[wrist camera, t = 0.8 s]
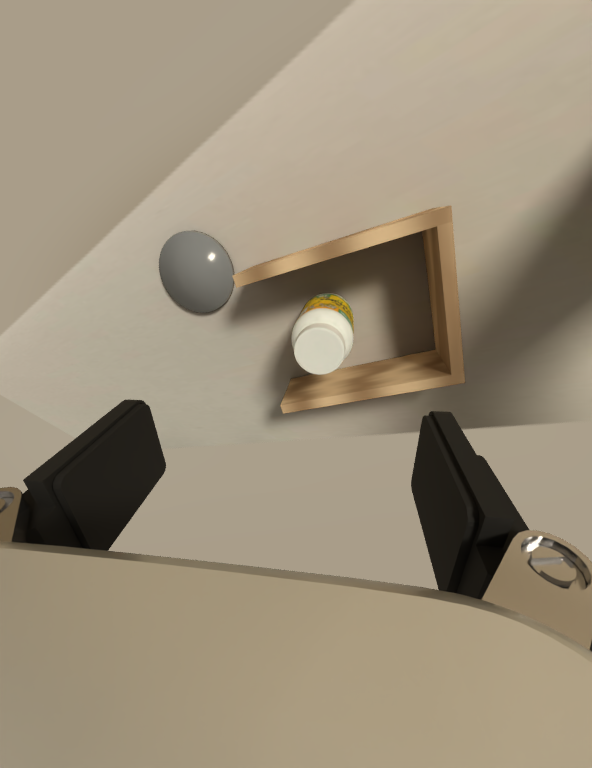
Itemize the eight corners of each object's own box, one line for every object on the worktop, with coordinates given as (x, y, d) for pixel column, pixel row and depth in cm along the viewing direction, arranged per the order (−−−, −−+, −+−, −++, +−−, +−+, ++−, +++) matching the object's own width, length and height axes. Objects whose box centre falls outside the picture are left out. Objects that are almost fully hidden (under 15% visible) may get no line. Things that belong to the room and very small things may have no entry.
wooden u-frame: (432, 208, 26) (451, 205, 21) (447, 356, 32) (465, 382, 27) (252, 266, 31) (232, 275, 26) (293, 386, 37) (283, 413, 32)
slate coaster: (216, 219, 30) (213, 219, 29) (245, 300, 33) (243, 301, 32) (148, 245, 32) (145, 245, 31) (182, 318, 35) (180, 320, 35)
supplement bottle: (293, 324, 33) (272, 360, 25) (319, 281, 31) (306, 303, 22) (335, 351, 34) (328, 394, 26) (364, 310, 31) (367, 343, 23)
